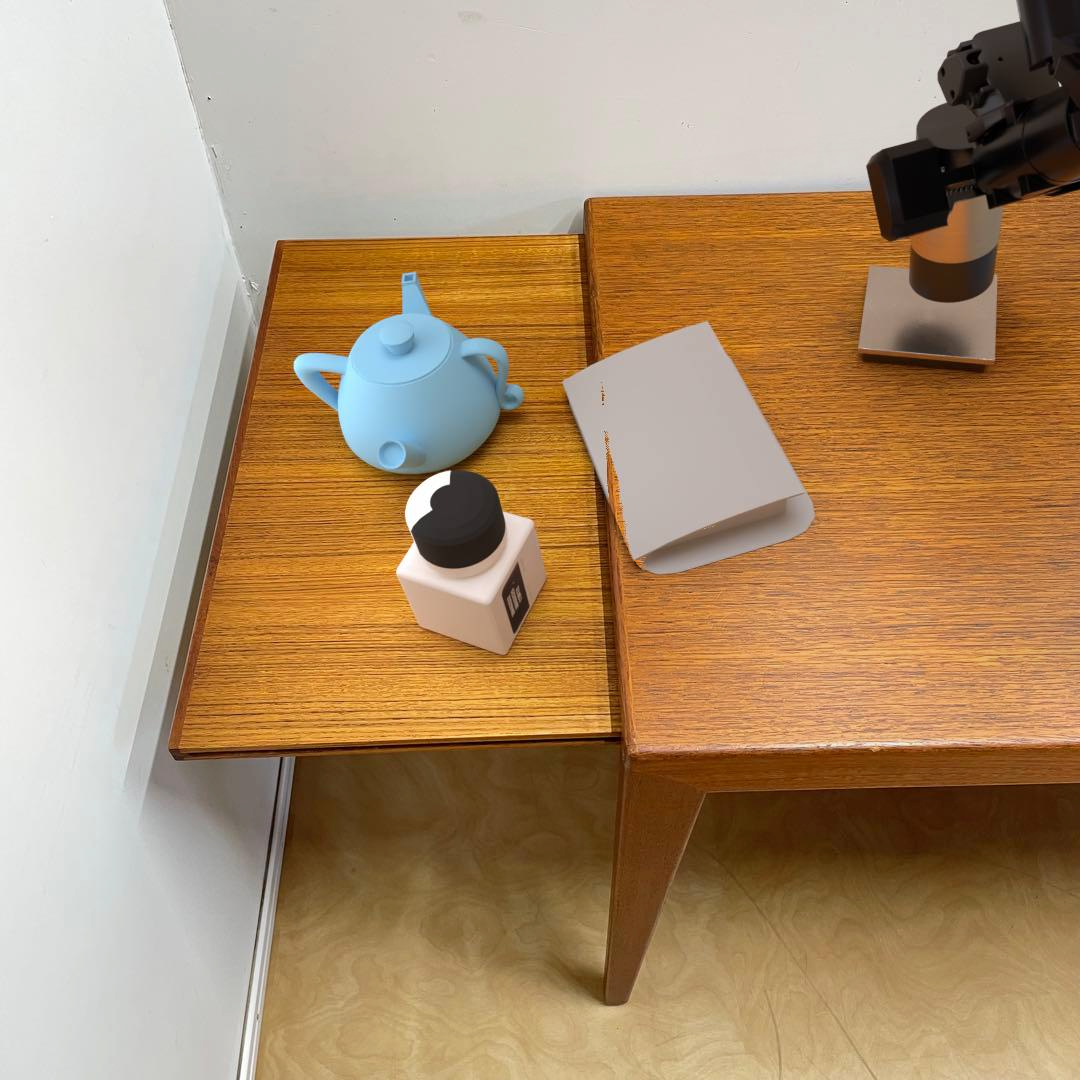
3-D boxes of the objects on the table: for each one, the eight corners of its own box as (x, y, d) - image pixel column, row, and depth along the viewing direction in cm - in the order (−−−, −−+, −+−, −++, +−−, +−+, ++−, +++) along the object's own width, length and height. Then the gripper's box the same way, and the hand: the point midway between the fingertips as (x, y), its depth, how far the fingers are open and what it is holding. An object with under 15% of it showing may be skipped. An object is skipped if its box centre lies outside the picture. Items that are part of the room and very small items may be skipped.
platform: (989, 377, 84) (995, 360, 82) (855, 364, 87) (858, 348, 85) (992, 291, 90) (997, 274, 88) (866, 282, 93) (869, 265, 91)
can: (969, 312, 80) (986, 156, 70) (893, 290, 84) (898, 139, 73) (1009, 263, 82) (1031, 106, 72) (933, 244, 86) (943, 92, 76)
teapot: (297, 450, 90) (253, 359, 81) (429, 339, 96) (402, 244, 87) (414, 529, 82) (380, 439, 74) (548, 403, 89) (532, 307, 80)
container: (548, 577, 78) (524, 471, 67) (506, 658, 74) (473, 559, 64) (463, 550, 81) (427, 445, 70) (417, 627, 77) (372, 528, 66)
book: (720, 339, 91) (720, 306, 88) (827, 528, 77) (832, 497, 74) (560, 385, 90) (555, 354, 87) (639, 584, 76) (636, 555, 73)
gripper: (1179, -32, 62) (1037, 58, 78) (899, 42, 62) (812, 118, 77) (1210, 146, 64) (1064, 200, 79) (937, 221, 63) (844, 260, 79)
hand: (947, 191), depth 79 cm, fingers closed on can, 7 cm apart
